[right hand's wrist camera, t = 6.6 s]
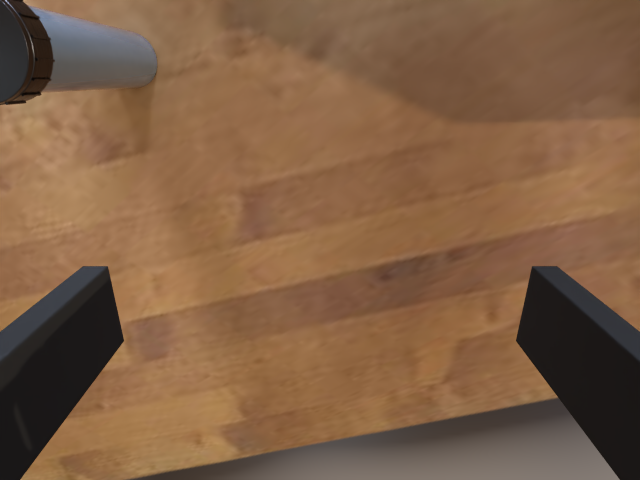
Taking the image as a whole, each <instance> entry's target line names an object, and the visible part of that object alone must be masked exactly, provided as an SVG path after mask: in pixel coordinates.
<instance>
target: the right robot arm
mask: <svg viewBox="0 0 640 480" xmlns="http://www.w3.org/2000/svg"><path fill="white" fill-rule="evenodd" d="M123 341H124V339H123V334H122V330H121V325H120V320H119V316H118V311H117V307H116V302H115V297H114V293H113V288H112V283H111V279H110V274H109V270H108V266H83V267H82V268H80V269H79V270H78V271H77V272H75V273H74V274H73V275H72V276H70V277H69V278H68V279H66V280H65V281H64V282H63V283H61V284H60V285H59V286H58V287H56V288H55V289H54V290H53V291H51V292H50V293H49V294H47V295H46V296H45V297H44V298H42V299H41V300H40V301H39V302H37V303H36V304H35V305H34V306H32V307H31V308H30V309H29V310H27V311H26V312H25V313H23V314H22V315H21V316H20V317H18V318H17V319H16V320H15V321H13V322H12V323H11V324H10V325H8V326H7V327H6V328H5V329H3V330H2V331H1V332H0V480H20V479H21V478H22V476H23V475H24V474H25V472H26V471H27V470H28V468H29V467H30V466H31V464H32V463H33V462H34V460H35V459H36V458H37V456H38V455H39V454H40V452H41V451H42V450H43V448H44V447H45V446H46V444H47V443H48V442H49V440H50V439H51V438H52V436H53V435H54V434H55V432H56V431H57V430H58V428H59V427H60V426H61V424H62V423H63V422H64V420H65V419H66V418H67V416H68V415H69V414H70V412H71V411H72V410H73V408H74V407H75V406H76V404H77V403H78V402H79V400H80V399H81V398H82V396H83V395H84V394H85V392H86V391H87V390H88V388H89V387H90V386H91V384H92V383H93V382H94V380H95V379H96V378H97V376H98V375H99V373H100V372H101V371H102V369H103V368H104V367H105V365H106V364H107V363H108V361H109V360H110V359H111V357H112V356H113V355H114V353H115V352H116V351H117V349H118V348H119V347H120V345H121V344H122V343H123ZM516 341H517V343H518V344H519V345H520V347H521V348H522V349H523V351H524V352H525V353H526V355H527V356H528V357H529V359H530V360H531V361H532V363H533V364H534V365H535V367H536V368H537V369H538V371H539V372H540V373H541V375H542V376H543V378H544V379H545V380H546V382H547V383H548V384H549V386H550V387H551V388H552V390H553V391H554V392H555V394H556V395H557V396H558V398H559V399H560V400H561V402H562V403H563V404H564V406H565V407H566V408H567V410H568V411H569V412H570V414H571V415H572V416H573V418H574V419H575V420H576V422H577V423H578V424H579V426H580V427H581V428H582V430H583V431H584V432H585V434H586V435H587V436H588V438H589V439H590V440H591V442H592V443H593V444H594V446H595V447H596V448H597V450H598V451H599V452H600V454H601V455H602V456H603V457H604V459H605V460H606V462H607V463H608V464H609V466H610V467H611V468H612V470H613V471H614V472H615V474H616V475H617V476H618V478H619V479H620V480H640V332H639V331H638V330H637V329H635V328H634V327H633V326H632V325H630V324H629V323H628V322H627V321H625V320H624V319H623V318H622V317H620V316H619V315H618V314H617V313H615V312H614V311H613V310H611V309H610V308H609V307H608V306H606V305H605V304H604V303H603V302H601V301H600V300H599V299H598V298H596V297H595V296H594V295H593V294H591V293H590V292H589V291H587V290H586V289H585V288H584V287H582V286H581V285H580V284H579V283H577V282H576V281H575V280H574V279H572V278H571V277H570V276H568V275H567V274H566V273H565V272H563V271H562V270H561V269H560V268H558V267H557V266H532V270H531V274H530V279H529V283H528V288H527V293H526V297H525V302H524V307H523V311H522V316H521V320H520V325H519V330H518V334H517V339H516Z"/></svg>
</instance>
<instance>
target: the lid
mask: <svg viewBox="0 0 640 480" xmlns="http://www.w3.org/2000/svg"><path fill="white" fill-rule="evenodd" d="M50 40H51V38H50V37H49V36H48V34H47V31H46V30H45V28H44V26H43V24H42V22H41V21H40V17H39V16H37V15H36V14H35V13H34V12H33V11H32V10H31V9H30V8H29V7H28V6H27V5H26V4H25V3H24V2H23V0H0V105H3V104H6V105H10V104H23V103H26V101H27V100H30V99H32V98H34V97H36V96H40V95H41V92H42V91H43V90H44V88H45V87H46V86H47V84H48V82H49V81H51V80H52V79H50V78H51V75H52V71H53V63H54V62H55V60H54V59H53V50H52V45H51V42H50Z"/></svg>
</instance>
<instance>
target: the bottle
mask: <svg viewBox="0 0 640 480" xmlns="http://www.w3.org/2000/svg"><path fill="white" fill-rule="evenodd" d="M27 6H28V7H29V8H30V9H31V10H32V11H33V12H34V13H35V14H36V15H37V16H39V17H40V21H41V22H42V24H43V26H44V28H45V30H46V31H47V34H48V36H49V37H50V38H51V40H50V42H51V45H52V50H53V59H54V60H55V62H54V63H53V71H52V75H51V78H50V79H52V80H51V81H49V82H48V84H47V86H46V87H45V88H44V90H43V91H42V92H41V93H46V92H66V91H86V90H107V89H127V88H140V87H143V86H146V85H147V84H149V83H150V82H151V81H152V79H153V78H154V76H155V74H156V70H157V58H156V54H155V52H154V49H153V48H152V46H151V44H150V43H149V42H148V41H147V40H146V39H145V38H144V37H143V36H141V35H140V34H138V33H135V32H132V31H128V30H124V29H120V28H116V27H112V26H108V25H104V24H100V23H96V22H92V21H89V20H85V19H81V18H77V17H73V16H69V15H65V14H61V13H57V12H53V11H49V10H45V9H41V8H37V7H33V6H29V5H27Z"/></svg>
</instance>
